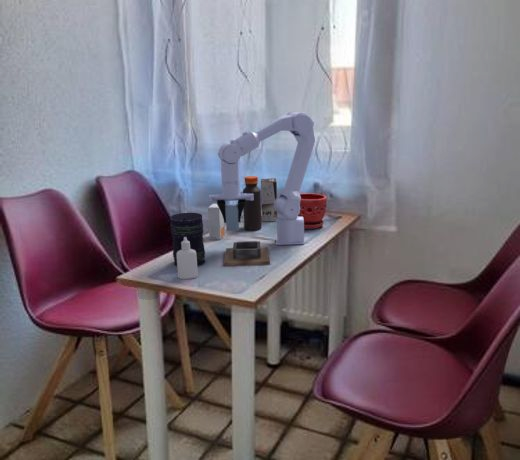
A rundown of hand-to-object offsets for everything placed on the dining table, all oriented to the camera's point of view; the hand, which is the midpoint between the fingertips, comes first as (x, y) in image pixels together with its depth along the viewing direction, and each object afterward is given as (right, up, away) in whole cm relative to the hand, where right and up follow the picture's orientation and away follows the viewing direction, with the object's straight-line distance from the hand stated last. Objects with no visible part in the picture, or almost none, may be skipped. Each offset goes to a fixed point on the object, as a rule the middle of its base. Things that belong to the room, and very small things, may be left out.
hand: (232, 221), depth 158 cm
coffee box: (+13, +2, +39) cm, 41 cm away
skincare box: (-6, -6, +16) cm, 18 cm away
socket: (+5, -11, -6) cm, 14 cm away
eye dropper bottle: (-12, -16, -21) cm, 29 cm away
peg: (0, -2, +1) cm, 3 cm away
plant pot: (+28, -1, +27) cm, 39 cm away
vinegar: (+6, -2, +26) cm, 26 cm away
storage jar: (-13, -13, -9) cm, 21 cm away
